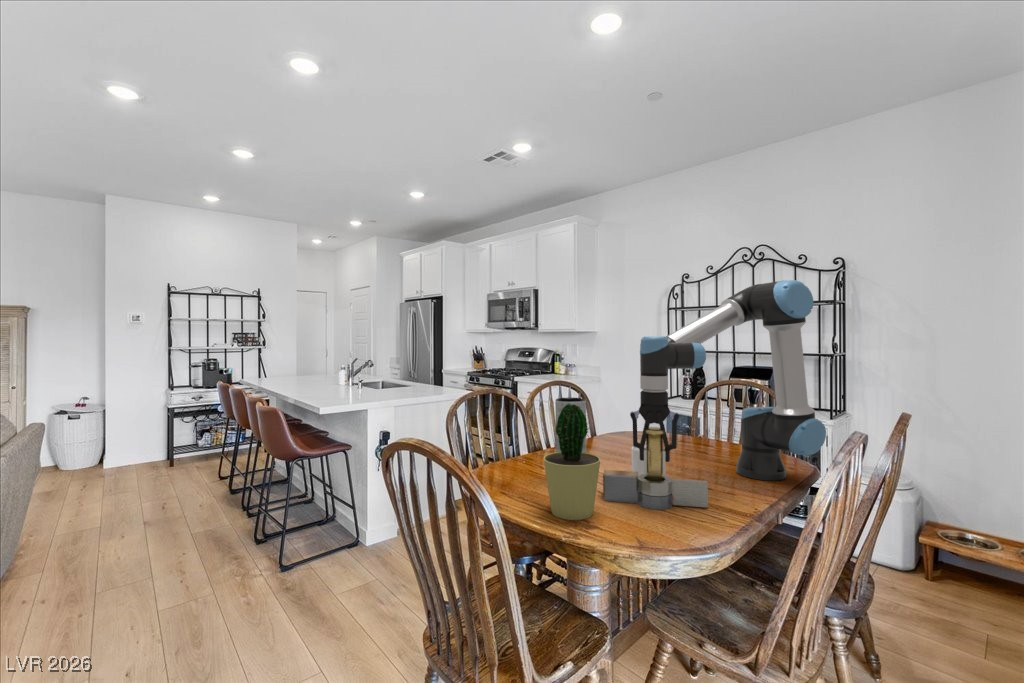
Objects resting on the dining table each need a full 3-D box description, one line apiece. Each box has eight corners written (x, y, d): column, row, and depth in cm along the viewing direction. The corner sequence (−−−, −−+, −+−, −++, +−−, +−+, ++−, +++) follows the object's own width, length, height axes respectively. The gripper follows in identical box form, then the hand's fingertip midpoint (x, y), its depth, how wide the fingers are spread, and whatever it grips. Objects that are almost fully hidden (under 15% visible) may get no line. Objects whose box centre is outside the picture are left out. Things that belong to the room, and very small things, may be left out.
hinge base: (671, 499, 139) (670, 474, 139) (673, 510, 130) (673, 484, 130) (605, 494, 144) (605, 470, 144) (603, 505, 135) (603, 479, 135)
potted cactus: (531, 512, 130) (531, 402, 130) (567, 498, 141) (566, 397, 140) (577, 528, 119) (576, 408, 119) (612, 511, 130) (611, 401, 129)
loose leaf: (637, 506, 132) (637, 482, 132) (637, 495, 142) (637, 472, 141) (709, 512, 128) (709, 487, 128) (705, 500, 137) (705, 477, 137)
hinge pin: (665, 486, 138) (664, 427, 138) (666, 492, 132) (666, 431, 132) (643, 484, 139) (643, 426, 139) (643, 491, 134) (643, 430, 133)
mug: (656, 473, 166) (656, 443, 166) (671, 479, 158) (671, 448, 158) (626, 476, 162) (626, 446, 162) (640, 483, 154) (640, 451, 154)
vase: (563, 475, 165) (563, 396, 164) (591, 479, 160) (590, 398, 159) (550, 482, 156) (550, 400, 156) (579, 487, 151) (578, 402, 151)
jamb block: (638, 495, 143) (638, 471, 142) (638, 501, 138) (638, 476, 138) (604, 493, 145) (604, 469, 145) (603, 498, 140) (603, 474, 140)
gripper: (685, 389, 137) (685, 470, 137) (623, 388, 141) (623, 467, 142) (688, 392, 130) (688, 478, 130) (622, 391, 134) (622, 474, 134)
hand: (654, 472), depth 136 cm, fingers closed on hinge pin, 4 cm apart
